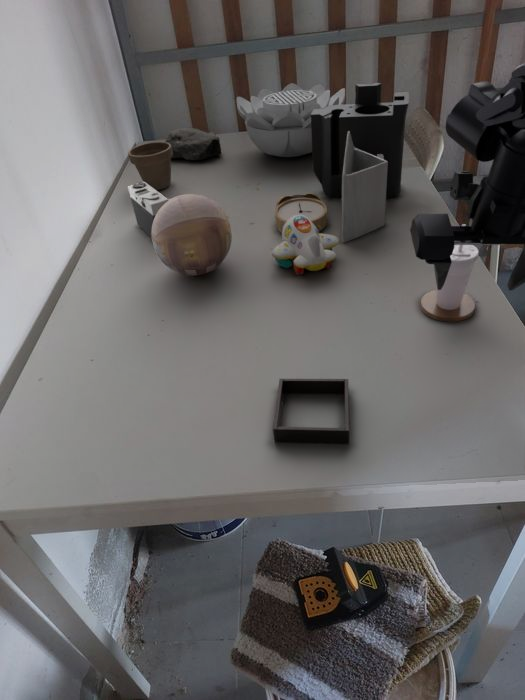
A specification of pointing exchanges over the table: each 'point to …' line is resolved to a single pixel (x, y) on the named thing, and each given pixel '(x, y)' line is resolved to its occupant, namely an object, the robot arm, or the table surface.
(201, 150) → the stone
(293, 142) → the decorative bowl
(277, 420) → the black square tray
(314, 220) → the alarm clock
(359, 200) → the grey angular upright piece
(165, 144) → the flower pot
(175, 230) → the ornament
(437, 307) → the coaster
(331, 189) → the black machined bracket
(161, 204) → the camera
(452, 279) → the smoothie
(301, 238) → the toy airplane
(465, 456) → the table surface
